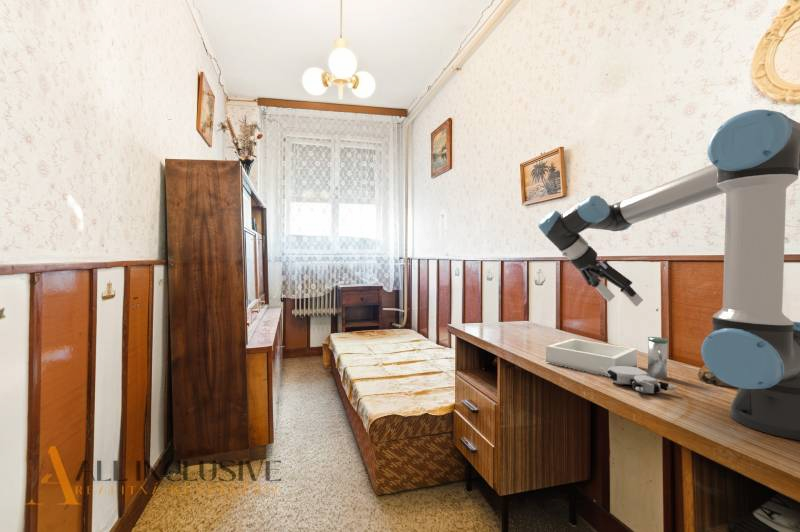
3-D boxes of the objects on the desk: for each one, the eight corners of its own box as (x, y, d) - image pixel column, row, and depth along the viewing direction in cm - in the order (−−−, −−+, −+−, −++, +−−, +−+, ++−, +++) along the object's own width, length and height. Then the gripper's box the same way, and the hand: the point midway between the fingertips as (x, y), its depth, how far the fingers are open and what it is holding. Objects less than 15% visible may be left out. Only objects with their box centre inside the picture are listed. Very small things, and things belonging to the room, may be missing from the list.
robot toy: (678, 399, 96) (634, 378, 111) (679, 383, 96) (635, 364, 111) (636, 401, 95) (598, 379, 110) (638, 384, 94) (599, 364, 109)
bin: (614, 378, 111) (615, 358, 111) (545, 363, 128) (546, 346, 128) (636, 366, 126) (637, 348, 126) (572, 353, 142) (572, 338, 143)
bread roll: (743, 401, 104) (758, 377, 103) (707, 383, 105) (721, 359, 105) (720, 390, 113) (734, 368, 113) (687, 373, 115) (700, 351, 114)
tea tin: (665, 380, 110) (665, 340, 110) (645, 376, 114) (645, 338, 114) (669, 376, 114) (670, 338, 114) (649, 373, 118) (650, 336, 118)
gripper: (553, 261, 127) (594, 304, 127) (592, 260, 102) (643, 314, 103) (568, 246, 127) (609, 290, 128) (611, 241, 102) (662, 295, 103)
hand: (624, 300), depth 115 cm, fingers open, 13 cm apart
